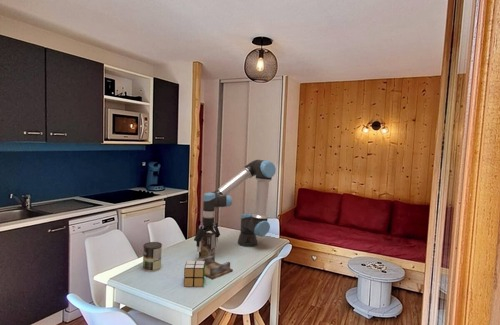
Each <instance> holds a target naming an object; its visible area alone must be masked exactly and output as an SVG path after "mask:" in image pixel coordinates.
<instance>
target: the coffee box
mask: <svg viewBox="0 0 500 325" xmlns="http://www.w3.org/2000/svg"><path fill="white" fill-rule="evenodd" d="M215 239H216V234H215V233H212V232H209V231H208V232H206V233H205V234H204V236H203V237H202V239H201V240H200V242H201V252H198V260H200V259H203V258H207V257H210V256H213V255H214V256H215V257H216V247H215Z"/></svg>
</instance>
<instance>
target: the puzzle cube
mask: <svg viewBox="0 0 500 325" xmlns="http://www.w3.org/2000/svg"><path fill="white" fill-rule="evenodd" d="M183 277H184V278H183V287H184V288H185V287H186V288H190V287H196V288H197V287H199V288H203V286H204V284H205V277H206V276H205V261H197V260H187V261H186V262H185V266H184V271H183Z"/></svg>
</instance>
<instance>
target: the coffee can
mask: <svg viewBox="0 0 500 325" xmlns="http://www.w3.org/2000/svg"><path fill="white" fill-rule="evenodd" d="M162 246H163V243H162V242H159V241H148V242H146V243H144V244H143V245H142V247H143V250H142V251H143V254H142V255H143V256H142V258H143V259H142V270H143V271H144V272H148V273H151V272H152V273H153V272H154V273H155V272H157V271H160V270H161V269H162Z"/></svg>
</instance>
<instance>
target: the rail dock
mask: <svg viewBox="0 0 500 325" xmlns="http://www.w3.org/2000/svg"><path fill="white" fill-rule="evenodd" d="M215 257H216V255H215V256H214V255H213V256H210V257H207V258H203V259H197V260H196V261H205V277H206V278H208V279H210V280H212V281H213V280H215V279H218V278H220V277H222V276H225V275H228V274H230V273H232V272H234V271H233V270H234V269H233V268H231V262H230V261H226V262H224V263H219V262H217V261H215V260H216V258H215Z"/></svg>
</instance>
